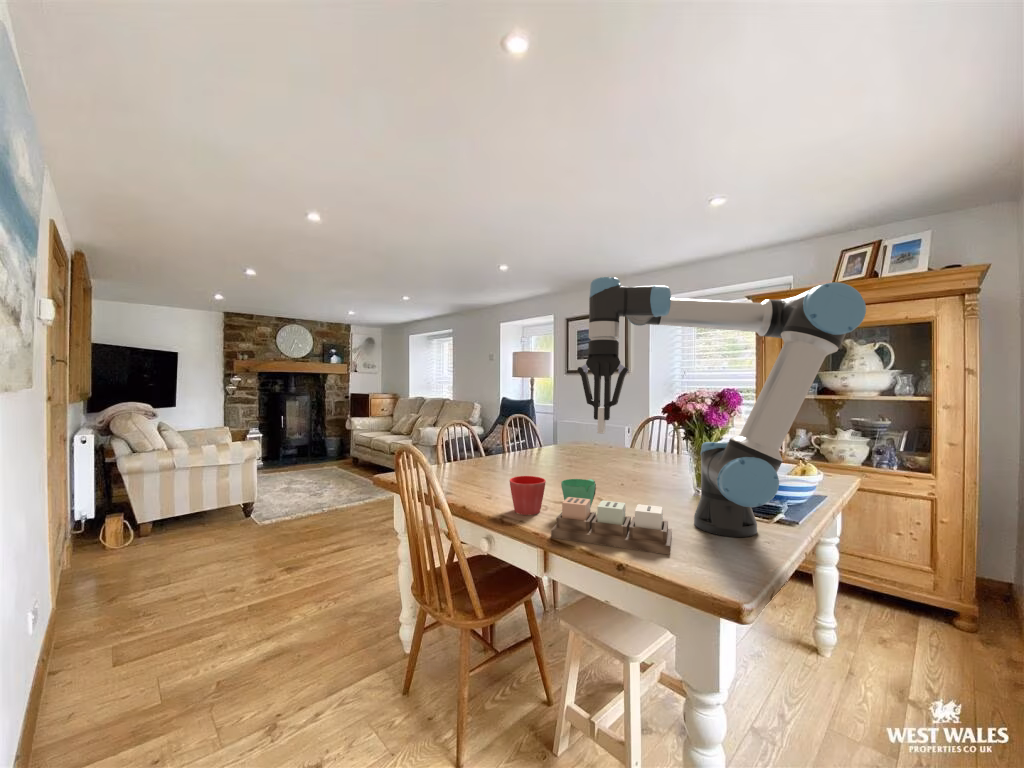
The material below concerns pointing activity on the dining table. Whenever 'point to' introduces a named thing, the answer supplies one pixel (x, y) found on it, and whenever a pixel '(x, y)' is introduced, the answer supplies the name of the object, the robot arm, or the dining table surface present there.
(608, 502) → the tile
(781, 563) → the dining table surface
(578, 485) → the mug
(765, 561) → the dining table surface
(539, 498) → the flower pot
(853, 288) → the robot arm
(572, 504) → the tile
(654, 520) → the tile
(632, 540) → the tile rack
